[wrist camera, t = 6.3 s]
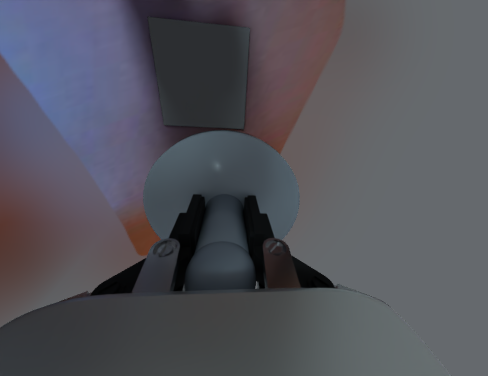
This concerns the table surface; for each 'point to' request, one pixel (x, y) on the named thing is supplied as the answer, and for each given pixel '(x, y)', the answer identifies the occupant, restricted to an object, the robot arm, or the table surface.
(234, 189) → the lid
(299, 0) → the table surface
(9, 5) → the table surface
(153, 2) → the table surface
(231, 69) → the mat
